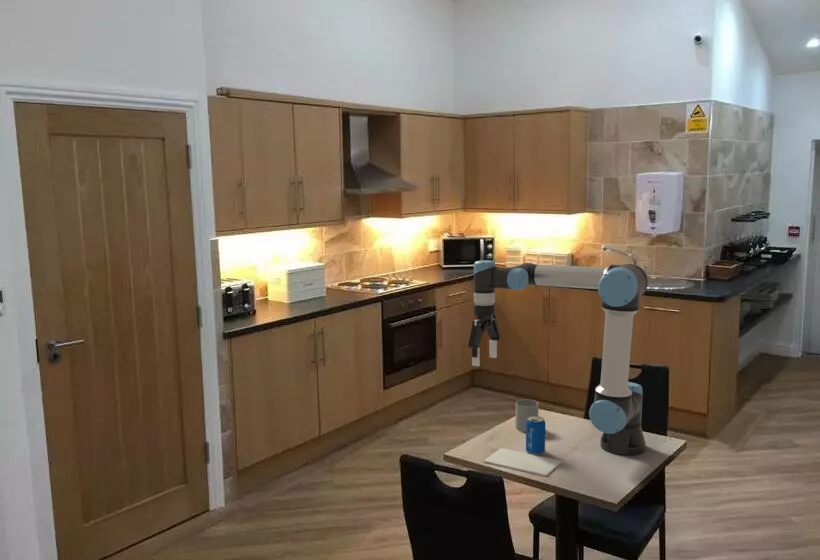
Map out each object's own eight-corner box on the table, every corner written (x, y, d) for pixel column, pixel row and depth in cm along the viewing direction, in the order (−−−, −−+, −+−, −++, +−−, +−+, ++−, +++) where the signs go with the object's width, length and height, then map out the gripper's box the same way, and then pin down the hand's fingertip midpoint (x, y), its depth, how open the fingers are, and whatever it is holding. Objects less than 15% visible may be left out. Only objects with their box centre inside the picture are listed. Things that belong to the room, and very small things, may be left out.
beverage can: (522, 452, 245) (522, 418, 243) (532, 447, 249) (532, 414, 248) (538, 457, 240) (539, 423, 239) (548, 451, 245) (549, 418, 243)
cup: (539, 432, 264) (539, 406, 262) (517, 432, 264) (517, 406, 262) (536, 424, 272) (536, 399, 271) (514, 424, 272) (514, 399, 271)
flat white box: (561, 462, 236) (561, 461, 236) (546, 476, 225) (546, 474, 225) (501, 449, 247) (501, 447, 247) (483, 462, 237) (483, 460, 237)
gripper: (490, 297, 269) (490, 353, 271) (458, 308, 248) (458, 368, 251) (508, 299, 264) (508, 355, 267) (477, 310, 244) (477, 370, 247)
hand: (484, 361), depth 259 cm, fingers open, 13 cm apart
